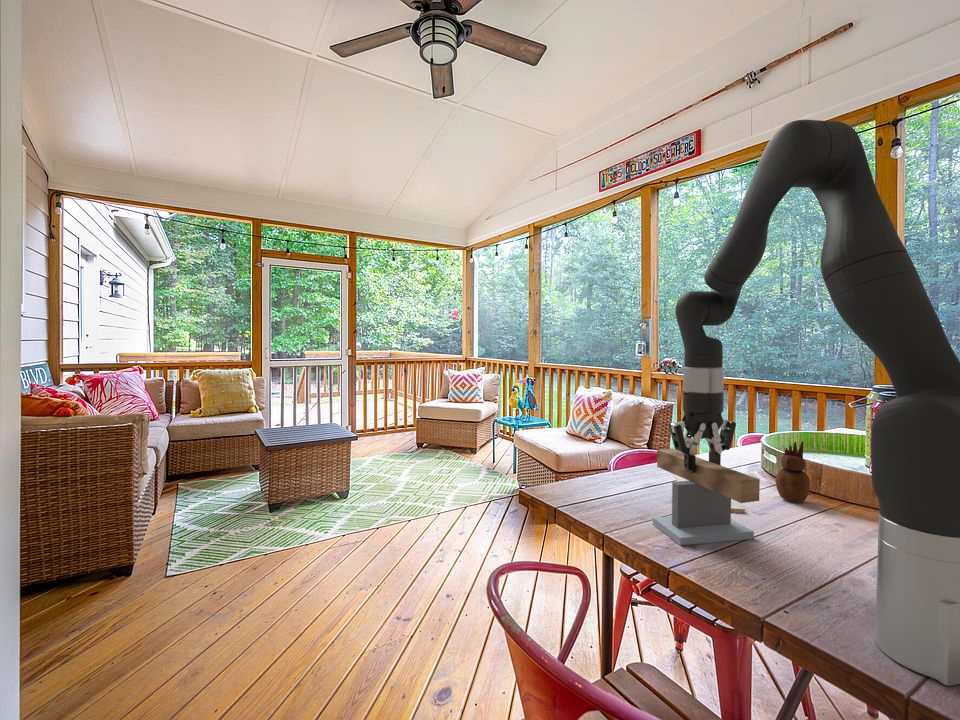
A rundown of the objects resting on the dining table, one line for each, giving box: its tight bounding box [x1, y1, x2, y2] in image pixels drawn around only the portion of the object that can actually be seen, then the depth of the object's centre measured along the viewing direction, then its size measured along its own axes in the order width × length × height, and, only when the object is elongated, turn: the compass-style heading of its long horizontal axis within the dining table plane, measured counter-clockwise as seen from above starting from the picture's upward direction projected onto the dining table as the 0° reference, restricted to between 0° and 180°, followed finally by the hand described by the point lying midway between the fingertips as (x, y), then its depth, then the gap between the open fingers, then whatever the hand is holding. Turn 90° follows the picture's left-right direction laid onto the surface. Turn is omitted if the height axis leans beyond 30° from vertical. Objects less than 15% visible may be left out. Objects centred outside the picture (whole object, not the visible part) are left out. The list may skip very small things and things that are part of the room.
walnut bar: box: [656, 447, 761, 504], centre depth 93 cm, size 24×4×4 cm, turn 14°
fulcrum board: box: [652, 481, 755, 546], centre depth 93 cm, size 10×16×10 cm, turn 99°
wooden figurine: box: [775, 440, 811, 504], centre depth 110 cm, size 7×6×15 cm
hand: (702, 470), depth 93 cm, fingers open, 4 cm apart
